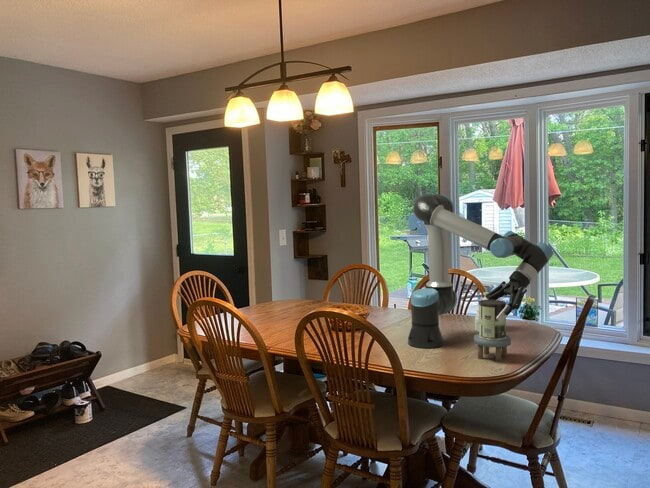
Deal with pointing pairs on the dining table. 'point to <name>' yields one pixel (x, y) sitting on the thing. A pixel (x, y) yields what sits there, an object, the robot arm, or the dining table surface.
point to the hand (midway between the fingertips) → (488, 316)
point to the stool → (499, 344)
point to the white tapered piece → (478, 314)
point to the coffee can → (491, 320)
